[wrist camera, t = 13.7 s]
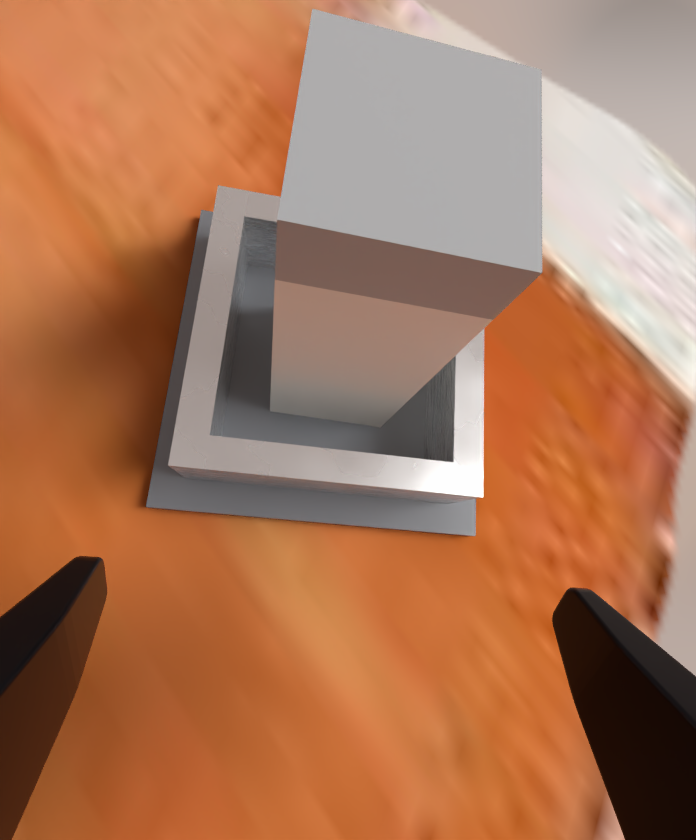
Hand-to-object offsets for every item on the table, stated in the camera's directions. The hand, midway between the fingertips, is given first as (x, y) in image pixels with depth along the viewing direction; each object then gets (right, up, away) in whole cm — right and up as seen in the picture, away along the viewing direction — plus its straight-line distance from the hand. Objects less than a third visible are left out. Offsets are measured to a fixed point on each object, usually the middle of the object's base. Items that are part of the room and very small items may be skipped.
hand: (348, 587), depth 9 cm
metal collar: (-1, +5, +13) cm, 14 cm away
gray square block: (-1, +6, +13) cm, 14 cm away
